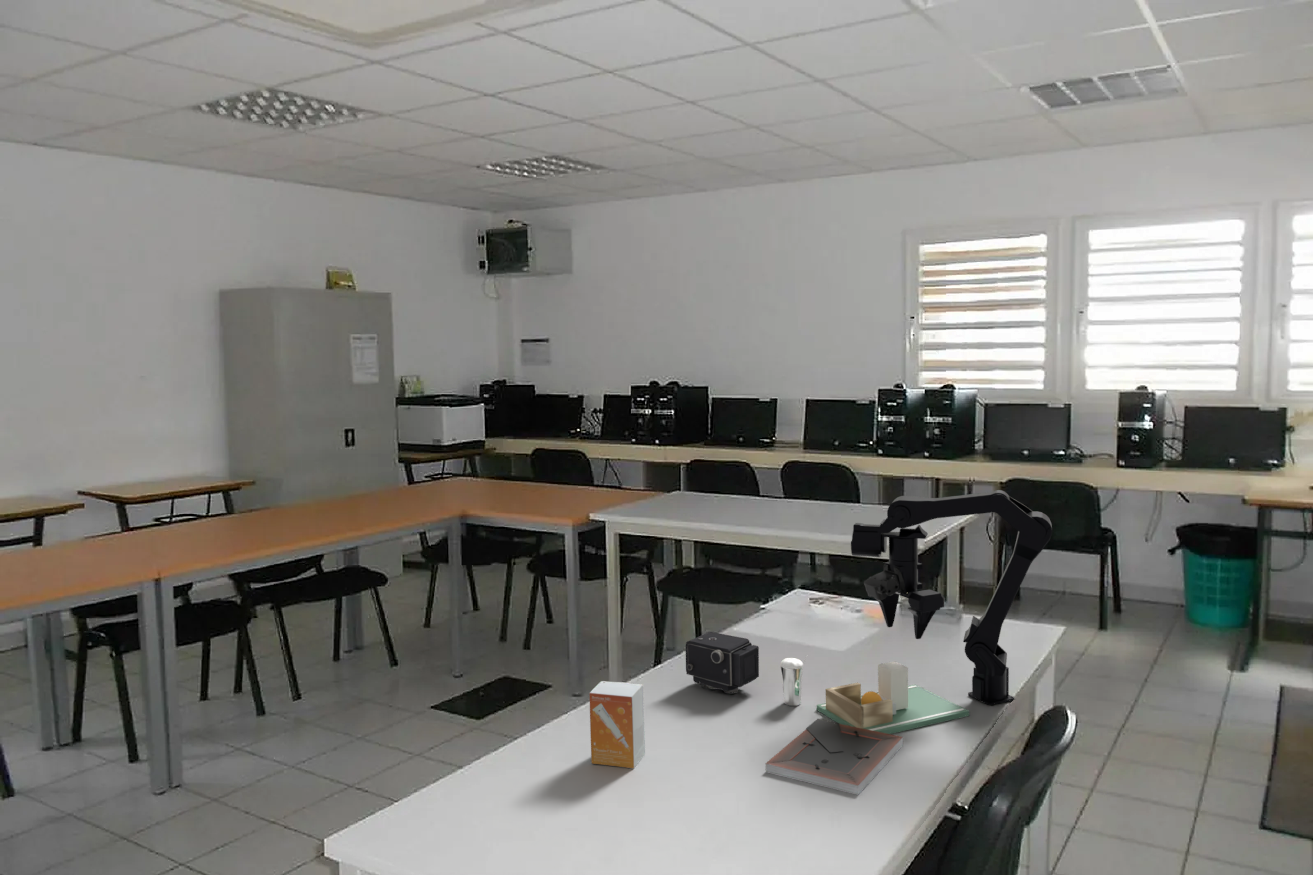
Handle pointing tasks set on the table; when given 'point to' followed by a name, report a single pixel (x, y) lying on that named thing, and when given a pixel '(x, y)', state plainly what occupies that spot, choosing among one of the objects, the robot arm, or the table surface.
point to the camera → (722, 661)
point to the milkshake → (792, 680)
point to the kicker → (893, 684)
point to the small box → (617, 724)
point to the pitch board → (912, 712)
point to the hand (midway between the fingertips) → (903, 632)
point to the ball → (870, 697)
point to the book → (835, 756)
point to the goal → (857, 706)
